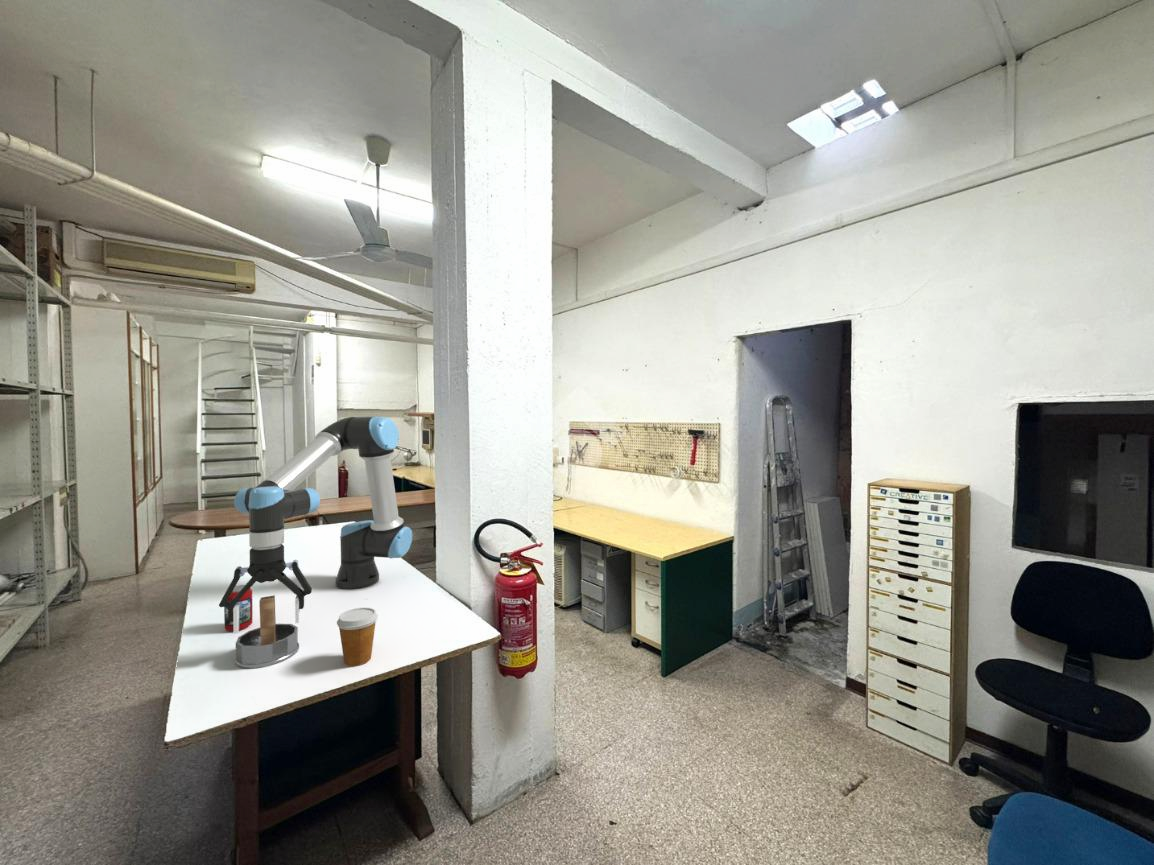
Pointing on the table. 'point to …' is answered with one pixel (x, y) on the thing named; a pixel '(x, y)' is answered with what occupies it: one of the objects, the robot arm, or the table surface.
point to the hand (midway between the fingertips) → (267, 626)
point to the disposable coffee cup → (357, 635)
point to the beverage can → (240, 609)
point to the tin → (266, 647)
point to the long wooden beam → (267, 620)
